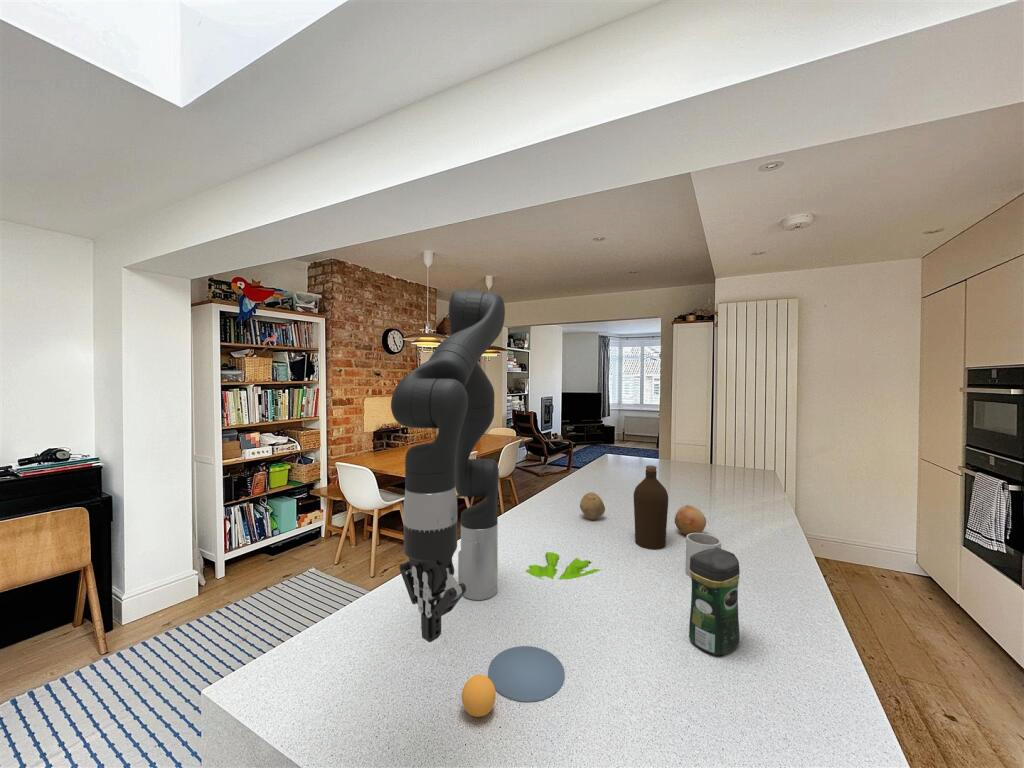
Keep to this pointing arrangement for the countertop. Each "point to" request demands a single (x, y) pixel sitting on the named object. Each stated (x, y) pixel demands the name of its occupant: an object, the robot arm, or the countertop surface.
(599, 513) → the potato
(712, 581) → the coffee jar
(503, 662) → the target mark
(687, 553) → the mug
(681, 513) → the onion
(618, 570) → the countertop surface
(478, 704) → the ball
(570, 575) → the leaves
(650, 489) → the olive oil
